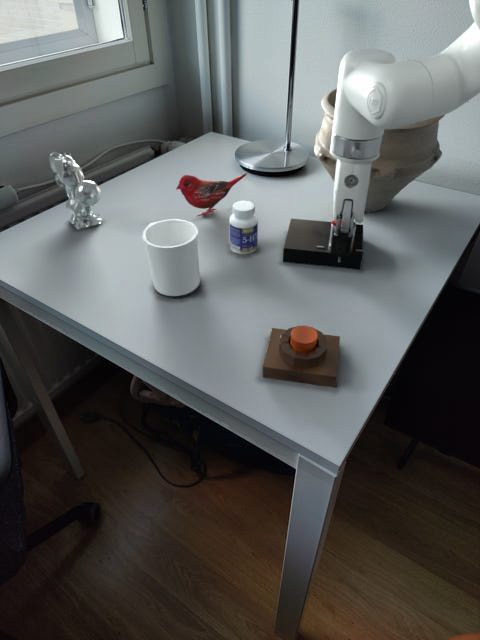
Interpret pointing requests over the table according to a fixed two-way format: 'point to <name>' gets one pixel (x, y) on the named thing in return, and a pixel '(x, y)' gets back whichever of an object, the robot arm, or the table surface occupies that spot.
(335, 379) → the button block
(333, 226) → the hob knob
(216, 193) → the decorative bird figurine
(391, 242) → the table surface
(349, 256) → the panel
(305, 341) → the button
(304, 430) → the table surface
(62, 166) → the chrome statue
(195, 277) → the mug
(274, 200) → the table surface
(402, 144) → the planter
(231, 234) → the pill bottle
